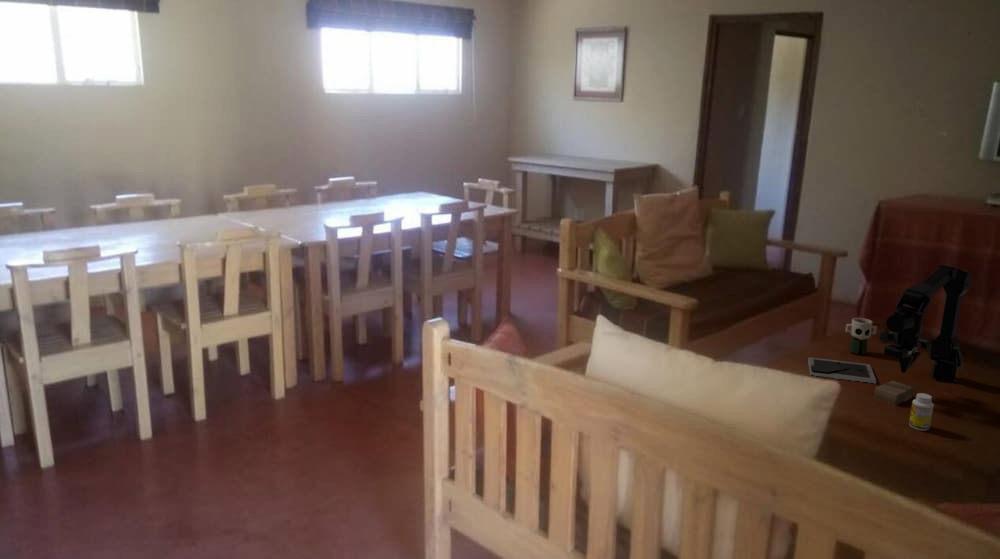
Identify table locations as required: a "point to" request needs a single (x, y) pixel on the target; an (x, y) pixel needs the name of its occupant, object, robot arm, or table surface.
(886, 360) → the table surface
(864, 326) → the character mug
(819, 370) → the picture frame
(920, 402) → the supplement bottle
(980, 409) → the table surface
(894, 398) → the streaky grey slab
